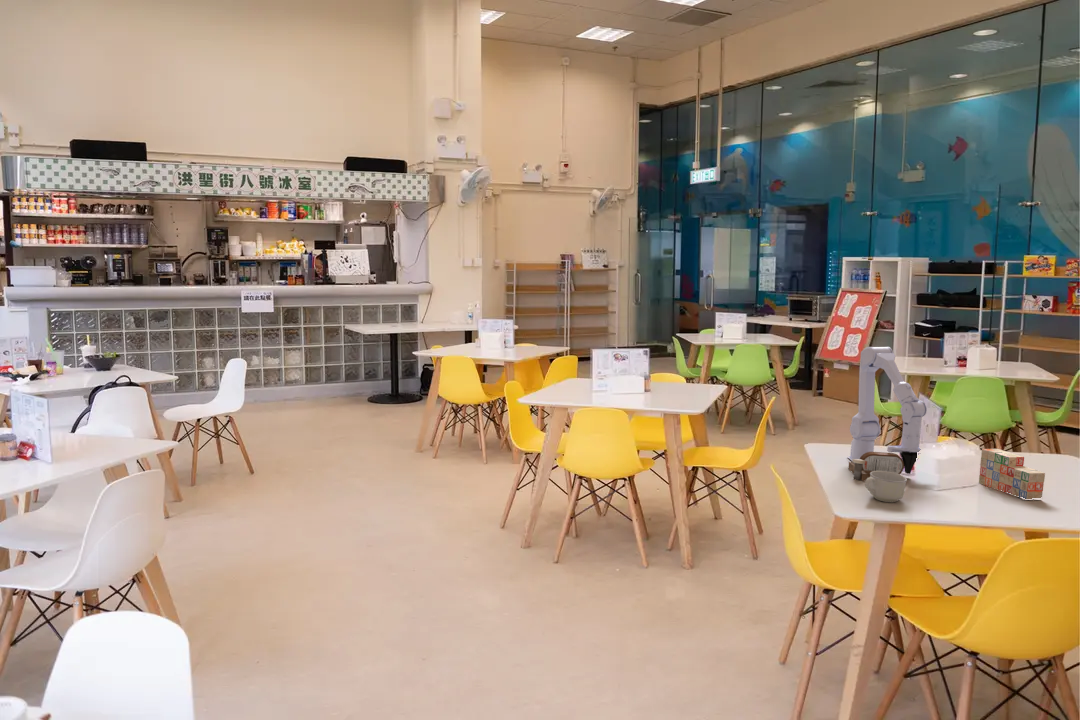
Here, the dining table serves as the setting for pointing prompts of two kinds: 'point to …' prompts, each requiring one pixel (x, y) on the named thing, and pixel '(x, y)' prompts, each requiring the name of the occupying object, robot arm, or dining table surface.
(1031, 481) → the stack of blocks
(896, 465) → the tin
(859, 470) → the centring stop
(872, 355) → the robot arm
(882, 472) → the teacup
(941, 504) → the dining table surface
